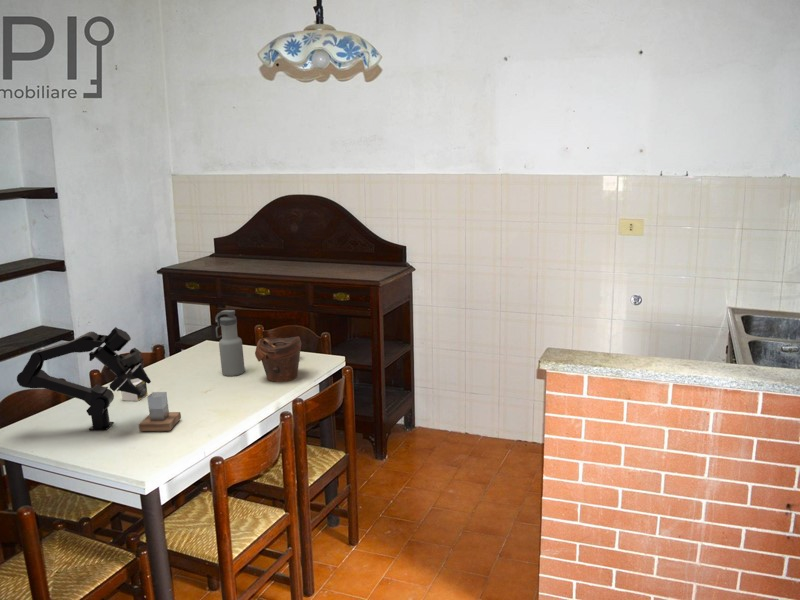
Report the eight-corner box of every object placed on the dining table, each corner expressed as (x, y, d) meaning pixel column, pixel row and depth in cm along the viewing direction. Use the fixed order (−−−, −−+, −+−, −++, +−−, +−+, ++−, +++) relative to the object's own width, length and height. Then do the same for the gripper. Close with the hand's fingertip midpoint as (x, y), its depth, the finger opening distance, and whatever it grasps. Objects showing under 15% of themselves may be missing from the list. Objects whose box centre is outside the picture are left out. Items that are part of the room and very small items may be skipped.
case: (252, 375, 305) (249, 335, 301) (296, 367, 314) (293, 328, 310) (264, 388, 290) (261, 346, 286) (310, 379, 299) (308, 338, 294)
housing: (164, 420, 252) (161, 396, 250) (150, 421, 253) (147, 397, 250) (169, 415, 257) (166, 391, 255) (155, 415, 257) (152, 392, 255)
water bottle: (216, 375, 307) (210, 313, 301) (228, 368, 316) (222, 307, 310) (237, 377, 304) (231, 314, 298) (249, 370, 313) (243, 308, 307)
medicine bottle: (138, 401, 281) (134, 372, 278) (122, 400, 282) (118, 372, 280) (148, 394, 288) (144, 366, 285) (132, 394, 289) (128, 366, 286)
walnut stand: (170, 431, 250) (169, 424, 249) (139, 432, 250) (138, 424, 250) (181, 419, 260) (180, 411, 260) (152, 420, 261) (151, 412, 260)
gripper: (114, 356, 241) (149, 386, 244) (135, 335, 258) (168, 363, 262) (94, 376, 244) (130, 406, 247) (116, 354, 261) (149, 382, 265)
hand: (145, 388), depth 255 cm, fingers open, 9 cm apart
